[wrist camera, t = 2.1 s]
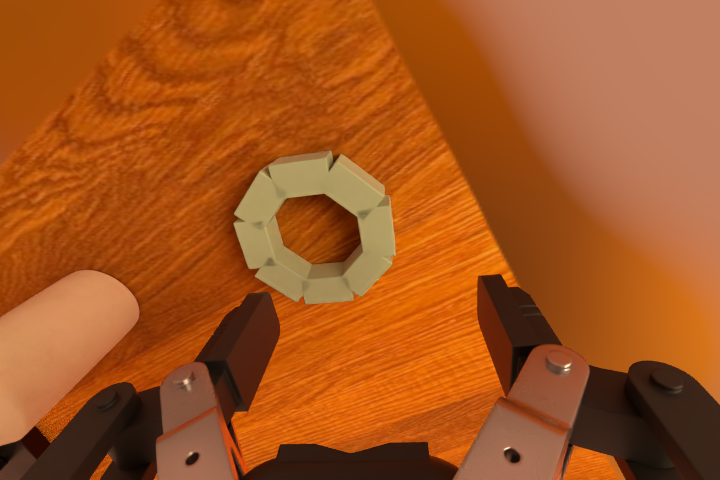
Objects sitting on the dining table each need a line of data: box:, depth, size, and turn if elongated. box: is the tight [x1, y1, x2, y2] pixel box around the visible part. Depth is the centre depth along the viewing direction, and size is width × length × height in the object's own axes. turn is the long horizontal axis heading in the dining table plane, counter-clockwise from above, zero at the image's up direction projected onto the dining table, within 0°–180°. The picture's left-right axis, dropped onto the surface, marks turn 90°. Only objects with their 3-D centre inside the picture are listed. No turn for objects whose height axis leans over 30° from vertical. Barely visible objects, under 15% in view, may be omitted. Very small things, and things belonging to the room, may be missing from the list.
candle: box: [0, 270, 139, 446], centre depth 19 cm, size 6×6×10 cm
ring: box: [233, 151, 396, 304], centre depth 19 cm, size 9×9×2 cm
